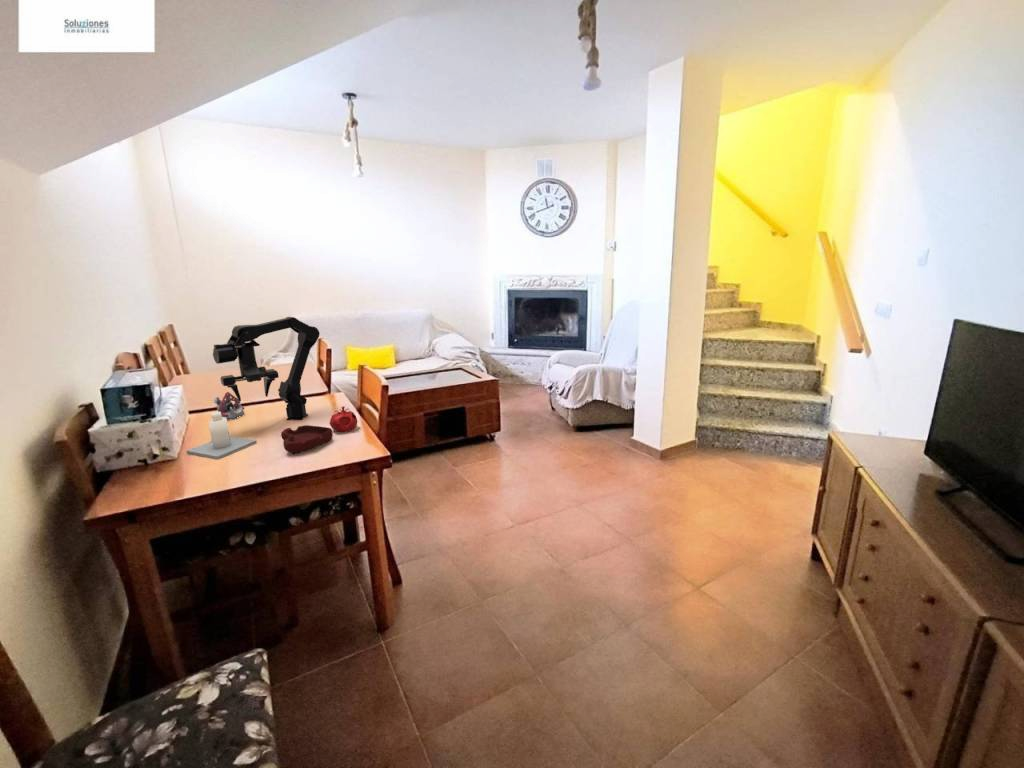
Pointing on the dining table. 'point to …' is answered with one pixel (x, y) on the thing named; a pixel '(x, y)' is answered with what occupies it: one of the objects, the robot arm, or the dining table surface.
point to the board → (218, 453)
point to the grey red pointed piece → (229, 406)
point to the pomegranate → (343, 421)
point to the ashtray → (305, 438)
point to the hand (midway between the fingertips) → (253, 398)
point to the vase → (219, 430)
